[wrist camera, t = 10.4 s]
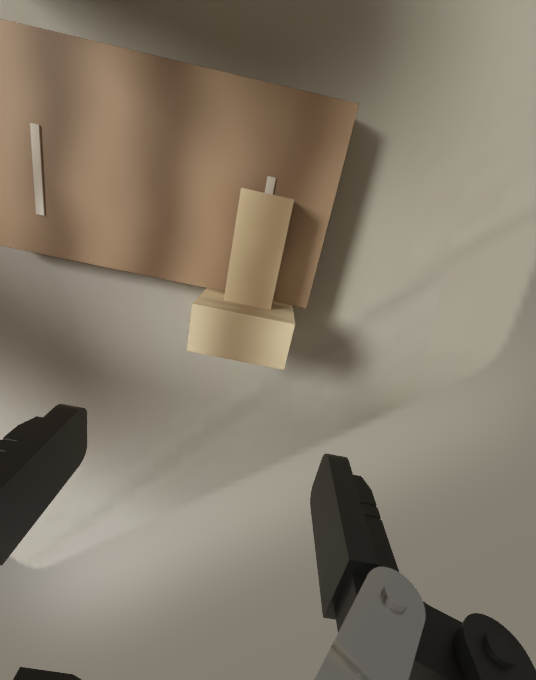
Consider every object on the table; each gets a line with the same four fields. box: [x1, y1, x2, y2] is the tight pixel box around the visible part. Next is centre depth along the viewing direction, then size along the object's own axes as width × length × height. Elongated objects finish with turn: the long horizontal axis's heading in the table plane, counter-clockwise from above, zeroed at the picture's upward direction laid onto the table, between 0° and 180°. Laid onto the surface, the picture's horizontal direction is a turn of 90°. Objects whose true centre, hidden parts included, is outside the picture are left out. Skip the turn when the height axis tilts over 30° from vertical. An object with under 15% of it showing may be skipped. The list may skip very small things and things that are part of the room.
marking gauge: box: [187, 188, 295, 370], centre depth 21 cm, size 6×10×6 cm, turn 169°
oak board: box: [0, 19, 359, 308], centre depth 21 cm, size 22×12×3 cm, turn 79°
